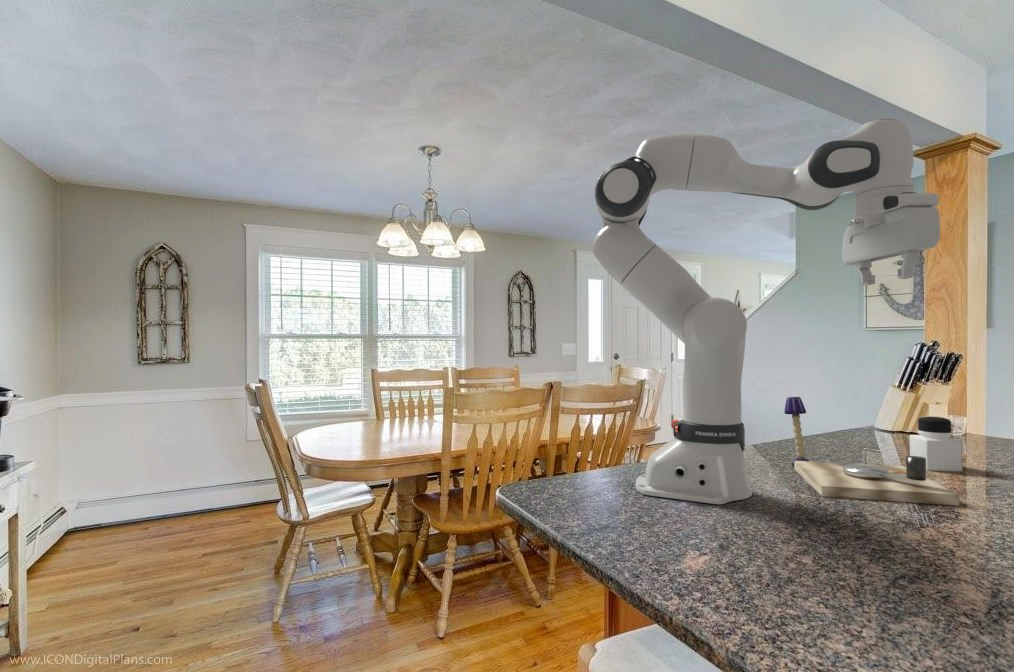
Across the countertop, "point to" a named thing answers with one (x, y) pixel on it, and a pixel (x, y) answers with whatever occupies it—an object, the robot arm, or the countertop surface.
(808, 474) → the birch stand
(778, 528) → the countertop surface
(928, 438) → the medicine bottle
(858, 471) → the silver disc with handle
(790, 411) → the toy lamp
